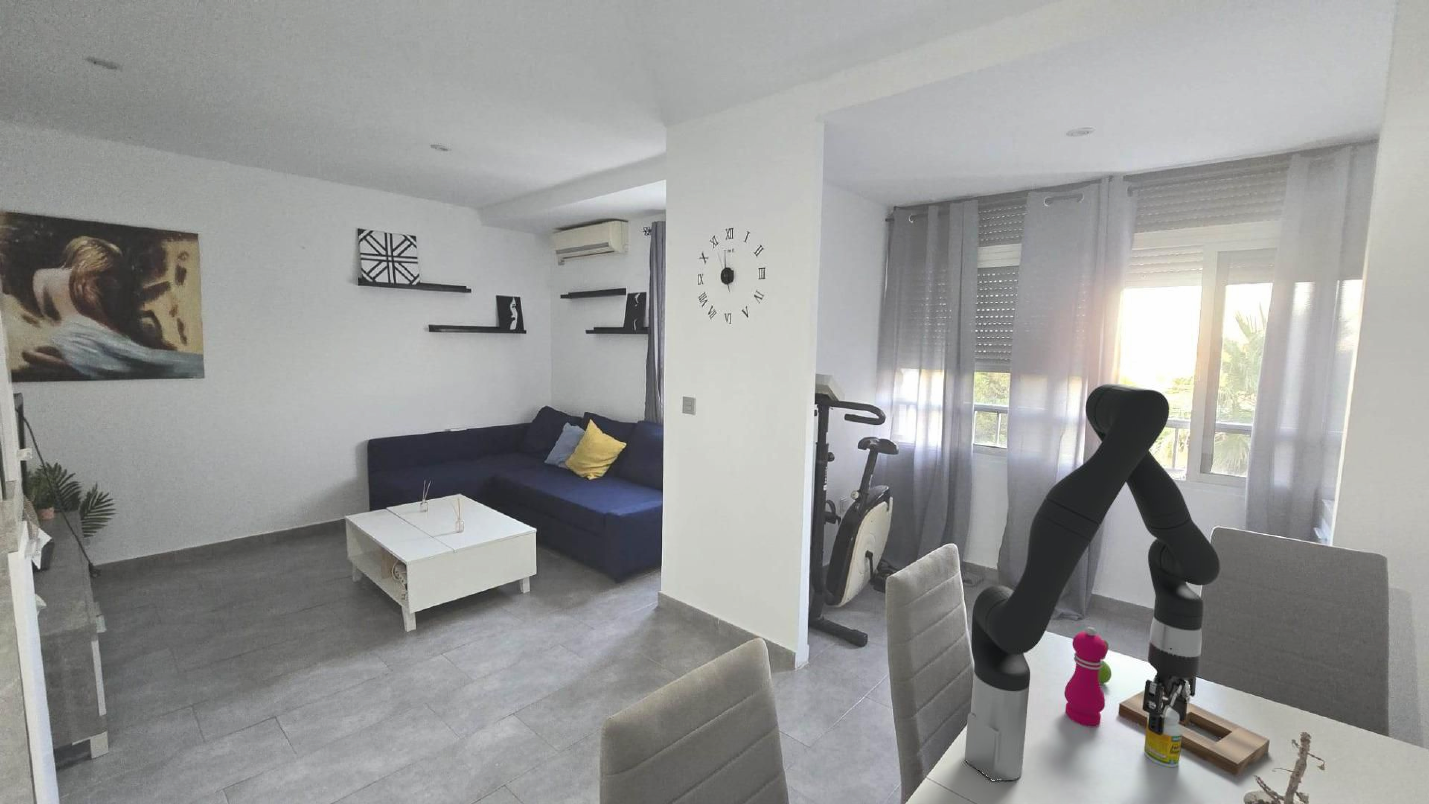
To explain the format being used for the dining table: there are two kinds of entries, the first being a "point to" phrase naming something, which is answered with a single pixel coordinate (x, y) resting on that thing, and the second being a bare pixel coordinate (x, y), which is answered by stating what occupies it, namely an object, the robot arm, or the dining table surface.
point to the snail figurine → (1104, 669)
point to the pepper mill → (1086, 680)
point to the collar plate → (1226, 754)
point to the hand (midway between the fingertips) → (1166, 725)
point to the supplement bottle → (1165, 741)
